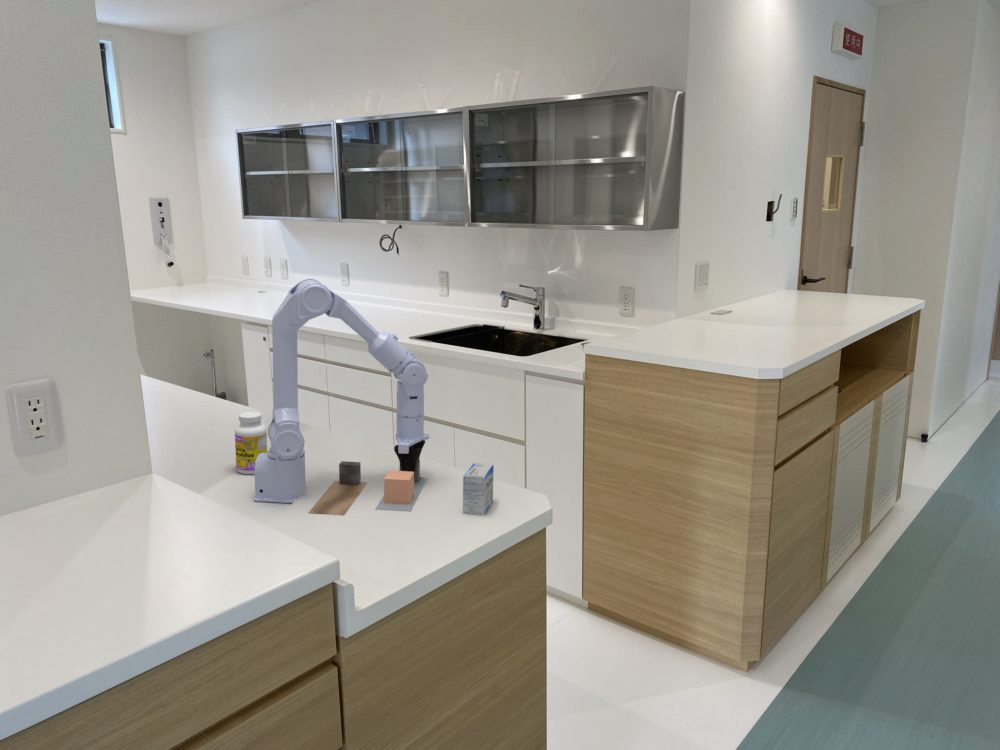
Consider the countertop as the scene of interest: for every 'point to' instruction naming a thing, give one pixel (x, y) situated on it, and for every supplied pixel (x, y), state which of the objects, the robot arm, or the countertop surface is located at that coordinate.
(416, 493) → the slate strip
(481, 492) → the medicine box
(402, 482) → the terracotta block
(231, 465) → the countertop surface
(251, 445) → the supplement bottle
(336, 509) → the walnut strip
